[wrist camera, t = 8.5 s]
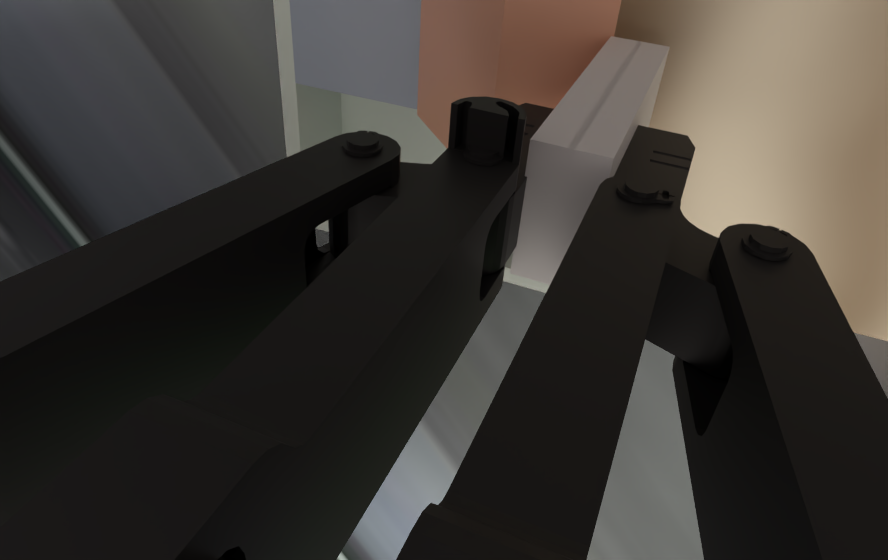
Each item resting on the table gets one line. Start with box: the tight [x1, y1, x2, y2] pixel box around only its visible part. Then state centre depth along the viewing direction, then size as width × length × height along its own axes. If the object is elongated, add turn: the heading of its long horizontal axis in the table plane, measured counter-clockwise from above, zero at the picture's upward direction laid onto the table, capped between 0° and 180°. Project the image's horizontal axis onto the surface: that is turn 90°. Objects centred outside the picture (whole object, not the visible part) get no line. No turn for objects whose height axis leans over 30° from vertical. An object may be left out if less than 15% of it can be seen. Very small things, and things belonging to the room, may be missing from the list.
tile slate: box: [289, 0, 421, 109], centre depth 21 cm, size 5×5×3 cm
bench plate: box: [614, 0, 888, 341], centre depth 17 cm, size 14×12×4 cm
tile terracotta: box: [417, 0, 621, 148], centre depth 18 cm, size 5×5×3 cm
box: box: [273, 0, 550, 293], centre depth 21 cm, size 10×16×4 cm, turn 177°
